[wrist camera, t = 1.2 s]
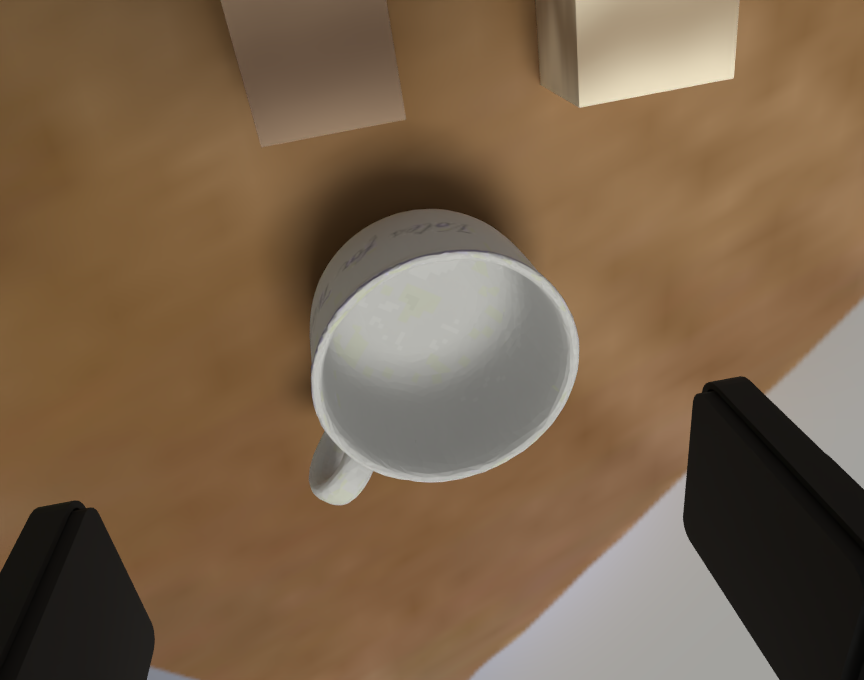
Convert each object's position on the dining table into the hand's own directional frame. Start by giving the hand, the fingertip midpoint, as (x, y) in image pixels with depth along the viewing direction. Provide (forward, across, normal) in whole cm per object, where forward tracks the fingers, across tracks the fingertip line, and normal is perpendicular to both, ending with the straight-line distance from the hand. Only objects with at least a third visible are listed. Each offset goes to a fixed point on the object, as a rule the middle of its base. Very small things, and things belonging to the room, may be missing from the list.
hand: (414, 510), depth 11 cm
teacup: (+22, -1, +8) cm, 24 cm away
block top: (+22, +1, -5) cm, 22 cm away
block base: (+22, -11, -5) cm, 25 cm away
